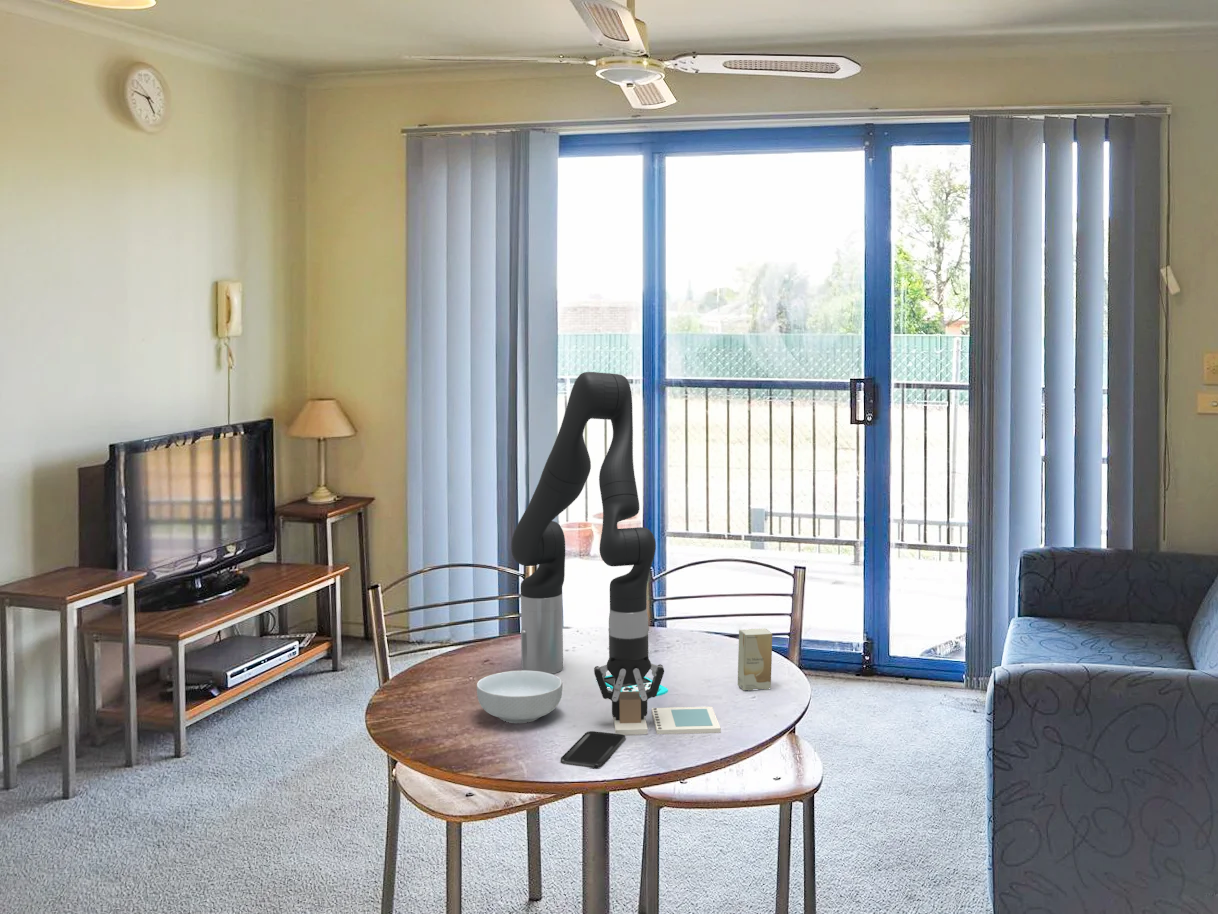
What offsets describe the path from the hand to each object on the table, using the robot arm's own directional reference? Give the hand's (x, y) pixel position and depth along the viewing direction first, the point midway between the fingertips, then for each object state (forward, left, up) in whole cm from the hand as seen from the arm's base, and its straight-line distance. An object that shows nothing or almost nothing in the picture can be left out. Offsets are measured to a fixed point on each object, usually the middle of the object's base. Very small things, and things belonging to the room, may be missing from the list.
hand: (629, 717), depth 215 cm
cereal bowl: (-21, +6, -2) cm, 22 cm away
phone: (-7, -13, -2) cm, 15 cm away
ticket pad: (+11, 0, -1) cm, 11 cm away
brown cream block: (0, 0, -1) cm, 1 cm away
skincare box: (+28, +20, -2) cm, 34 cm away
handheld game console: (+2, +22, -2) cm, 22 cm away
